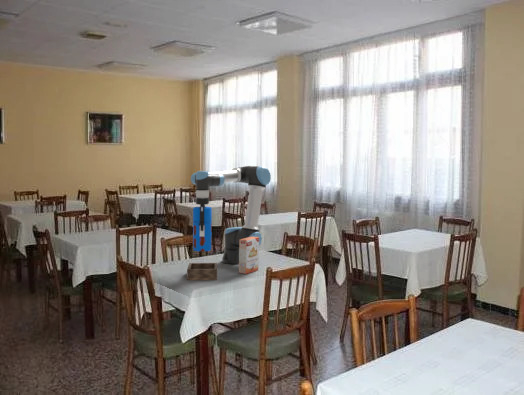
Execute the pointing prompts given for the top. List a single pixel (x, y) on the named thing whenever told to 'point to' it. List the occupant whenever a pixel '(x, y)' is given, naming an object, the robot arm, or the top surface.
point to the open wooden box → (202, 271)
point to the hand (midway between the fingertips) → (202, 234)
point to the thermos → (204, 241)
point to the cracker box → (248, 255)
